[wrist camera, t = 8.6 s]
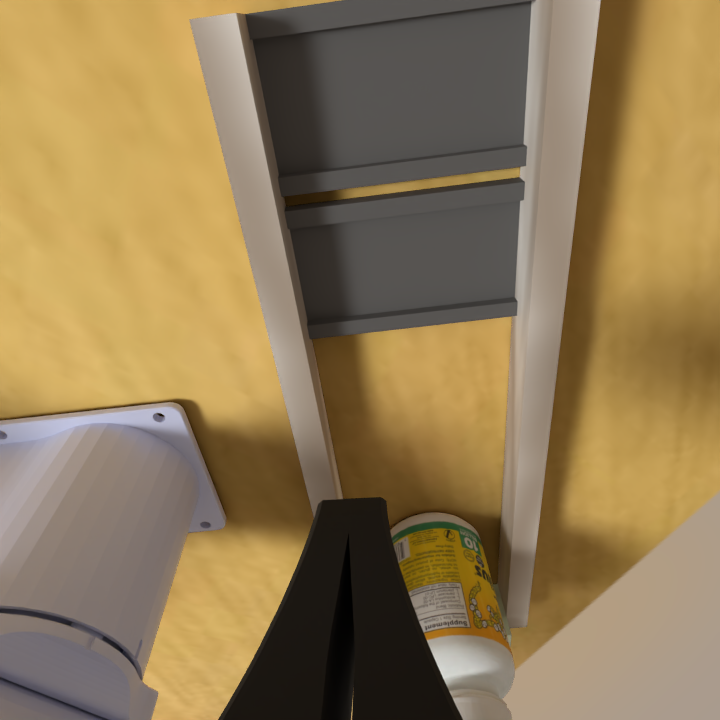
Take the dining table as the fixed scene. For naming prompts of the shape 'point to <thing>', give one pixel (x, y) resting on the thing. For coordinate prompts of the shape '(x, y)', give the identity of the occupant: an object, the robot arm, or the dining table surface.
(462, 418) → the dining table surface
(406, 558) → the supplement bottle
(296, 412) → the box
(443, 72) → the trap pits
